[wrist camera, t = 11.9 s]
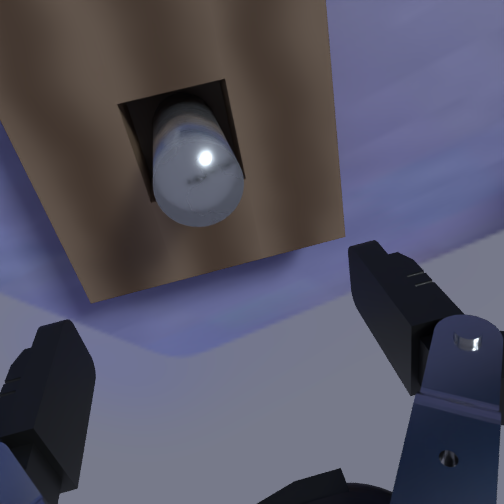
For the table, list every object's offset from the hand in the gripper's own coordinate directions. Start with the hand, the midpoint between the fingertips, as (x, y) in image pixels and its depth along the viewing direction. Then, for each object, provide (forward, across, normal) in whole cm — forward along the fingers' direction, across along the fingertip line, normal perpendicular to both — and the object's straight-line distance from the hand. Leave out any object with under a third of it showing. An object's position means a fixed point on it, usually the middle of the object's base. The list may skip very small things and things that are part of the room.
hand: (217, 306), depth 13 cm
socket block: (+20, 0, 0) cm, 20 cm away
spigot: (+19, 0, 0) cm, 19 cm away
